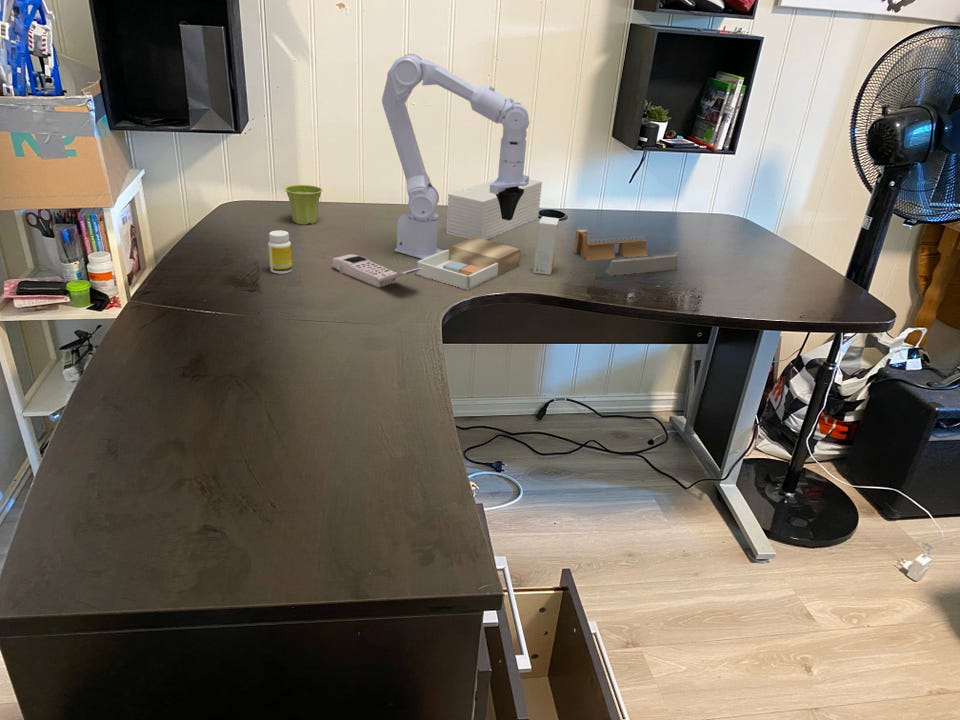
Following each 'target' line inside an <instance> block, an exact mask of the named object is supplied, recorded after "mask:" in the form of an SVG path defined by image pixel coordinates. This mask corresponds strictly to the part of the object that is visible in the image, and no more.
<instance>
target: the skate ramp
mask: <svg viewBox="0 0 960 720" xmlns="http://www.w3.org/2000/svg"><path fill="white" fill-rule="evenodd" d="M582 228H586V229H582ZM638 238H639V239H638ZM626 239H627V240H626ZM631 239H632V240H631ZM631 239H630V237H628V236H627V237H625V236H623V238H619V240H618V238H614V237H613V238H611V237H610V240H611V241H610V240H609V239H605V240H602V242H601V238H599V239H596V240H593V239H591V238H590V234H589V232H588V228H587V226H585V225H584V226H583V225H582V226H579V227H576V231H575V240H574V246H573V253H575V254H577V253H580V258H581V259H583V260H584V261H585V262H589V261H590V262H593V261H603V260H604V259H605V260H610V262H609V265H608V268H607V269H606V270H604V273H605V274H607V275H608V276H610V277H613V276H614V275H616V276H624V274H626V275H634V274H633V273H636V274H644V273H654V272H662V271H663V272H665V271H666V272H667V271H675V270H676V267H677V261H678V257H679V252H678V251H675V252H674V253H675V254H671V252H669V253H664V255H663V253H661V254H660V253H659V254H658V253H657V254H656V255H652V256H650V255H649V253H648V250H647V243H648V241H647V240H646V239H645V235H643V238H642V236H641V235H640V236H635V237H634V236H631ZM614 240H615V241H614ZM597 241H598V242H597ZM618 244H619V245H618ZM615 245H618V251H617V255H619V256H621V258H619V259H617V257H616V254H615ZM648 255H649V256H648ZM622 256H623V257H622ZM637 256H639V257H637ZM625 257H628V258H625ZM611 258H613V259H611ZM614 258H616V259H614ZM614 277H615V276H614Z"/></svg>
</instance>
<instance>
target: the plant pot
mask: <svg viewBox="0 0 960 720" xmlns="http://www.w3.org/2000/svg"><path fill="white" fill-rule="evenodd" d="M284 190H285V191H284V192H286V194H287V197H288V200H289V201H288V202H289V206H290V211H291V216H292V222H294V223H295V224H298V225H308V224H312V225H313V224H315V223H317V221H318V213H319V203H320V197H321V193H322V192H323V188H322V187H319V186H316V185H310V184H295V185H289V186H286V187H285V188H284Z"/></svg>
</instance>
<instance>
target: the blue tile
mask: <svg viewBox="0 0 960 720" xmlns="http://www.w3.org/2000/svg"><path fill="white" fill-rule="evenodd" d="M466 266H468V265H466V264H462V263H459V262H455V261H452V262H450V263H447V264H445V265H443V269H447V270H450V271H453V272H457V273H460V270H461V269H462V268H464V267H466Z"/></svg>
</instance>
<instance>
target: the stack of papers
mask: <svg viewBox="0 0 960 720" xmlns="http://www.w3.org/2000/svg"><path fill="white" fill-rule="evenodd" d="M495 180H496V179H493V180H490V181H486V182H483V183H480V184H477V185H474V186H470V187H467V188H463V189H461V190H457V191H454V192H450V193H448V195H447V209H446V210H447V211H446V212H447V213H446V214H447V215H446V231H445V232H446V233H447V235H450V234H451V235H452V236H454V235H455V237H459V238H462V237H463V239H466V238H467V239H466V240H468V239H471V238H473V237H476V238H480V239H484V240H489V238H490V239H491V238H494V237H496V235H497V236H498V234H499V235H502V234H503V232H504V233H506V232H508V231H510V229H511V230H513V229H515V228H514V227H516V226H518V227H520V226H522V225H521V224H523V225H525V224H528V223H529V221H530V222H532V221H534V219H535V220H537V219H539V215H540V205H541V203H540V202H541V194H542V187H543V186H542V185H543V181H540V180H535V179H530V178H529V184H527V185H526V186H519V187H518V188H521V189H524V193H523V195H522V196H521V198H520V200H519V202H518V204H517V206H516V209H515V212H514V215H513V218H512V220H504V219H502V216H501V210H500V205H499V201H498V198H497V196H496V194H494V193H490V184H492V183H494V182H495ZM536 218H537V219H536ZM524 223H525V224H524ZM519 225H520V226H519ZM512 228H513V229H512ZM516 228H517V227H516ZM507 230H508V231H507ZM505 231H506V232H505ZM446 233H445V234H446ZM451 235H450V236H451Z"/></svg>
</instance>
